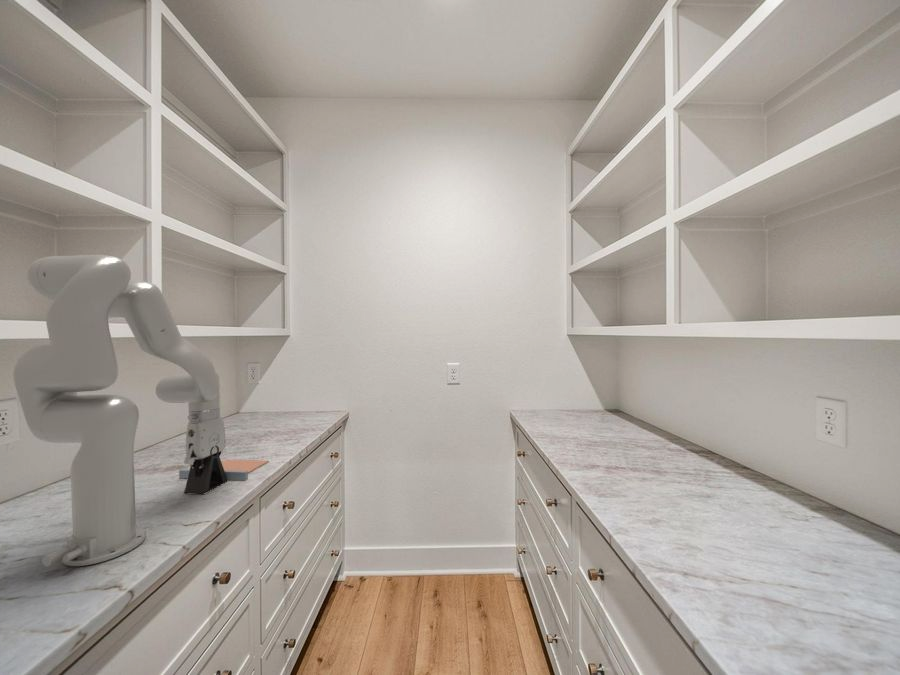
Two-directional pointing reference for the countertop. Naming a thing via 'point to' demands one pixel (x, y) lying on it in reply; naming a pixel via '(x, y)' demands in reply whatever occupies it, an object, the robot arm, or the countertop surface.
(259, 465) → the mat
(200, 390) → the robot arm
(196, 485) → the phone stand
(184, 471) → the acrylic wall
